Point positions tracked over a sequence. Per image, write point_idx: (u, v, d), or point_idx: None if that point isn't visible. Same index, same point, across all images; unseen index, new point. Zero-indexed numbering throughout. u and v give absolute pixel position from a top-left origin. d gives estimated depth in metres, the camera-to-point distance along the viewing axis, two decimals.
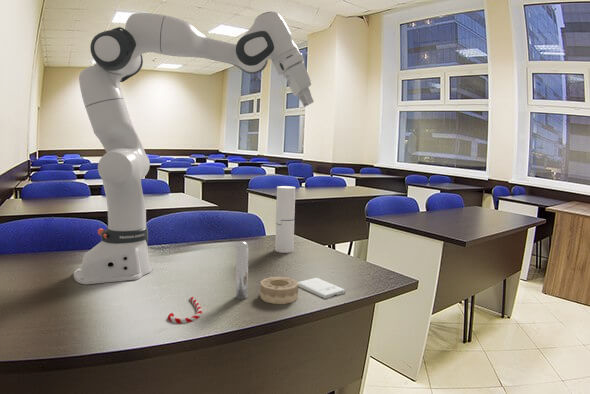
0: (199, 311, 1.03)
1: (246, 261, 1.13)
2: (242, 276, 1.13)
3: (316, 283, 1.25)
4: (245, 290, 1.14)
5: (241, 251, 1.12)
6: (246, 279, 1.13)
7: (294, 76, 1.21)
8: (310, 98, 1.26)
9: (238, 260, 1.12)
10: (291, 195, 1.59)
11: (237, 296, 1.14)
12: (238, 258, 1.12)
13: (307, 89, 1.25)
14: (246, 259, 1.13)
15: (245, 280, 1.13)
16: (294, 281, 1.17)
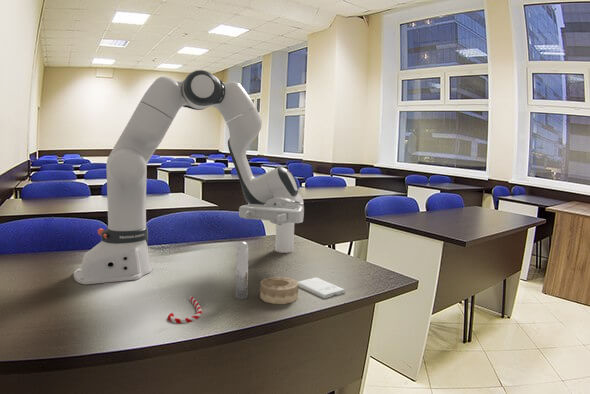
0: (199, 311, 1.03)
1: (246, 261, 1.13)
2: (242, 276, 1.13)
3: (316, 283, 1.25)
4: (245, 290, 1.14)
5: (241, 251, 1.12)
6: (246, 279, 1.13)
7: (302, 209, 1.28)
8: (280, 219, 1.23)
9: (238, 260, 1.12)
10: None
11: (237, 296, 1.14)
12: (238, 258, 1.12)
13: (286, 218, 1.25)
14: (246, 259, 1.13)
15: (245, 280, 1.13)
16: (294, 281, 1.17)
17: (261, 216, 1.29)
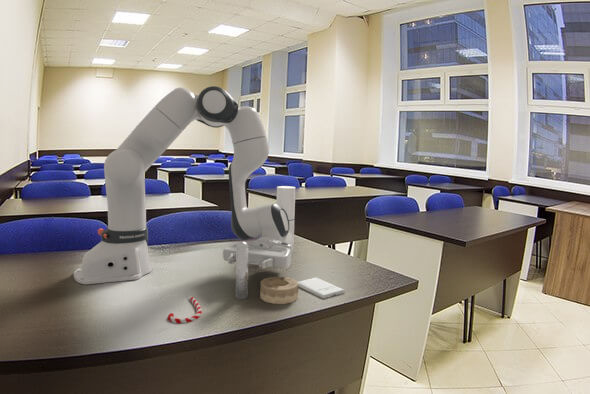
0: (199, 311, 1.03)
1: (246, 261, 1.13)
2: (242, 276, 1.13)
3: (315, 283, 1.25)
4: (245, 290, 1.14)
5: (241, 251, 1.12)
6: (246, 279, 1.13)
7: (289, 253, 1.21)
8: (265, 265, 1.16)
9: (238, 260, 1.12)
10: (291, 195, 1.59)
11: (237, 296, 1.14)
12: (238, 258, 1.12)
13: (273, 264, 1.18)
14: (246, 259, 1.13)
15: (245, 280, 1.13)
16: (294, 281, 1.17)
17: None
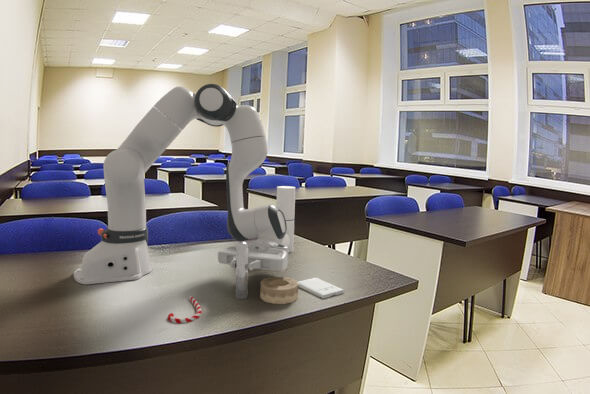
0: (199, 311, 1.03)
1: (246, 261, 1.13)
2: (242, 276, 1.13)
3: (315, 283, 1.25)
4: (245, 290, 1.14)
5: (241, 251, 1.12)
6: (246, 279, 1.13)
7: (286, 255, 1.18)
8: (253, 267, 1.13)
9: (238, 260, 1.12)
10: (291, 195, 1.59)
11: (237, 296, 1.14)
12: (238, 258, 1.12)
13: (260, 265, 1.16)
14: (246, 259, 1.13)
15: (245, 280, 1.13)
16: (294, 281, 1.17)
17: None
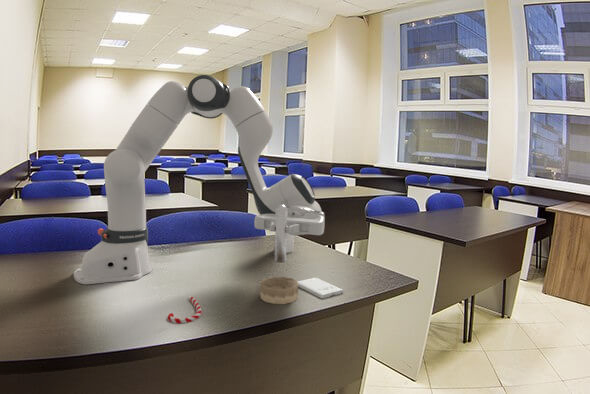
0: (199, 311, 1.03)
1: (285, 224, 1.12)
2: (282, 239, 1.12)
3: (314, 283, 1.25)
4: (284, 253, 1.13)
5: (281, 214, 1.11)
6: (285, 242, 1.13)
7: (323, 220, 1.18)
8: (292, 230, 1.13)
9: (278, 223, 1.12)
10: None
11: (276, 259, 1.13)
12: (278, 221, 1.12)
13: (299, 229, 1.15)
14: (286, 222, 1.12)
15: (284, 243, 1.13)
16: (294, 281, 1.17)
17: None
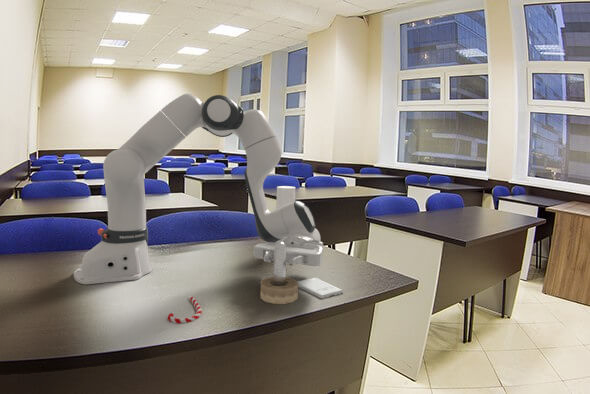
0: (199, 311, 1.03)
1: (284, 261, 1.14)
2: (281, 276, 1.14)
3: (314, 283, 1.25)
4: None
5: (280, 251, 1.13)
6: (284, 279, 1.15)
7: (322, 250, 1.19)
8: (295, 262, 1.14)
9: (276, 260, 1.13)
10: (291, 195, 1.59)
11: None
12: (276, 258, 1.13)
13: (302, 261, 1.16)
14: (285, 260, 1.14)
15: (283, 280, 1.14)
16: (294, 281, 1.17)
17: None
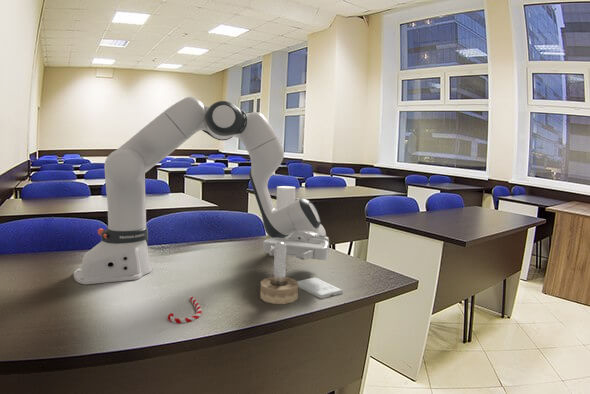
0: (199, 311, 1.03)
1: (284, 261, 1.14)
2: (281, 276, 1.14)
3: (314, 283, 1.25)
4: None
5: (280, 251, 1.13)
6: (284, 279, 1.15)
7: (328, 245, 1.24)
8: (306, 257, 1.19)
9: (276, 260, 1.13)
10: (291, 195, 1.59)
11: None
12: (276, 258, 1.13)
13: (313, 255, 1.21)
14: (285, 260, 1.14)
15: (283, 280, 1.14)
16: (294, 281, 1.17)
17: (286, 252, 1.25)
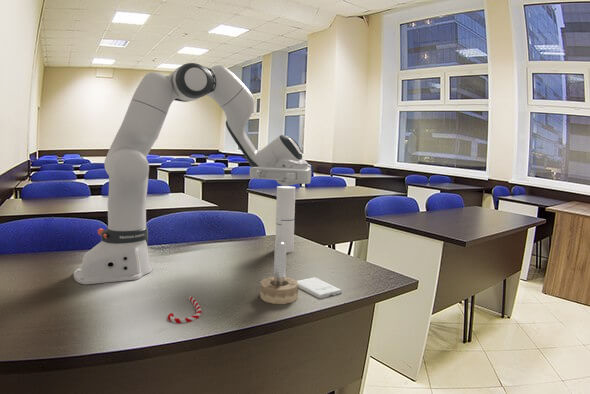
0: (199, 311, 1.03)
1: (284, 261, 1.14)
2: (281, 276, 1.14)
3: (313, 283, 1.25)
4: None
5: (280, 251, 1.13)
6: (284, 279, 1.15)
7: (310, 169, 1.35)
8: (289, 177, 1.30)
9: (276, 260, 1.13)
10: (291, 195, 1.59)
11: None
12: (277, 258, 1.13)
13: (295, 177, 1.32)
14: (285, 260, 1.14)
15: (283, 280, 1.14)
16: (294, 281, 1.17)
17: (271, 176, 1.36)
